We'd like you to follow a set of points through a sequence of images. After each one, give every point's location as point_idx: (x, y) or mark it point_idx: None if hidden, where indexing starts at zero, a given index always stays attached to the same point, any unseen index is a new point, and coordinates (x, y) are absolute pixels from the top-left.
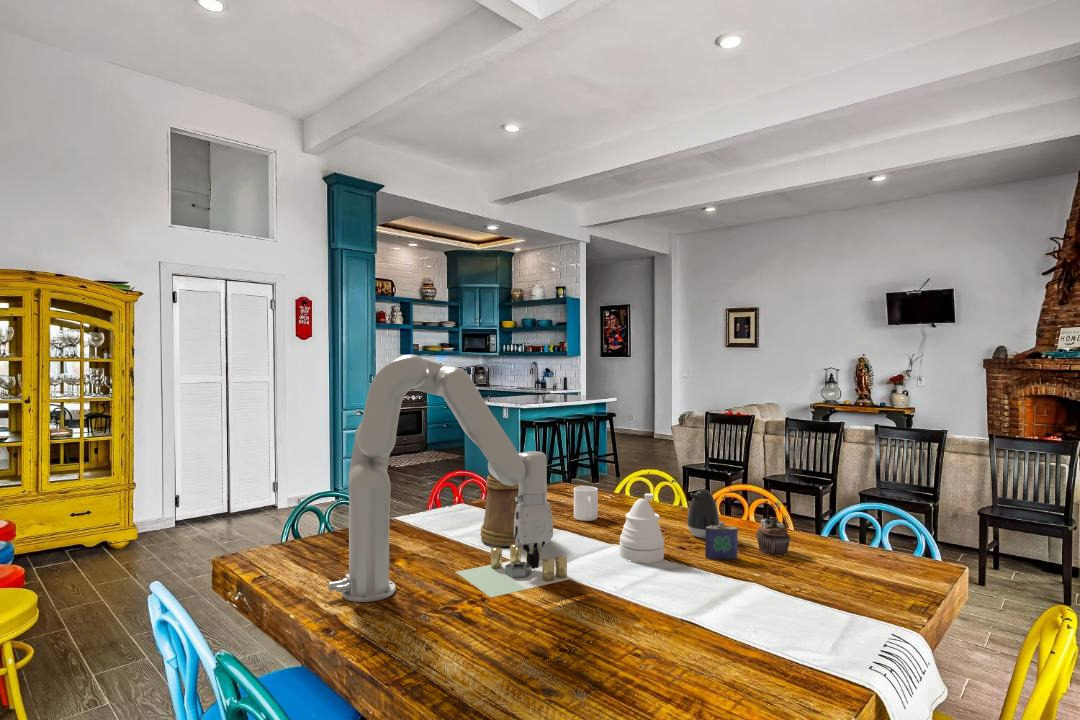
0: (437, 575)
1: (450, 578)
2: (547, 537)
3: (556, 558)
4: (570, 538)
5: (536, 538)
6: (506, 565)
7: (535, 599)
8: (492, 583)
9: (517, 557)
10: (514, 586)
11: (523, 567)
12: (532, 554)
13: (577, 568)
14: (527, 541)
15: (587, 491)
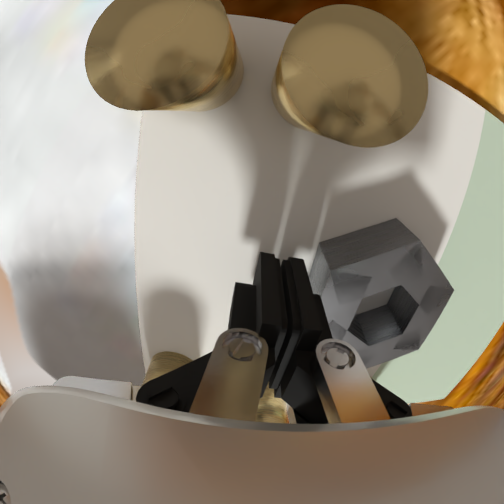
0: (454, 401)
1: (464, 378)
2: (108, 446)
3: (227, 41)
4: (3, 369)
5: (396, 483)
6: (412, 350)
7: (486, 35)
8: (497, 272)
9: (270, 397)
10: (493, 180)
11: (394, 278)
12: (312, 340)
13: (34, 170)
14: (495, 429)
15: None
